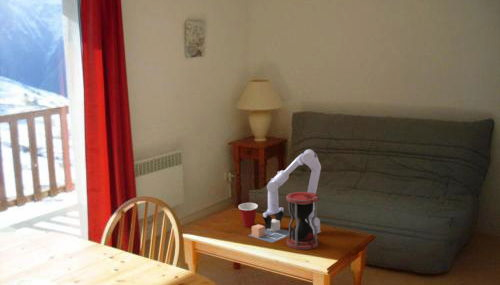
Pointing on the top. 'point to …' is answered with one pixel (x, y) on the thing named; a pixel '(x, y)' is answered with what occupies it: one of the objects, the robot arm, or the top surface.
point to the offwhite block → (275, 225)
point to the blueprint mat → (273, 235)
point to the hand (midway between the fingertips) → (273, 226)
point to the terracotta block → (258, 230)
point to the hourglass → (302, 220)
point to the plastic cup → (248, 213)
